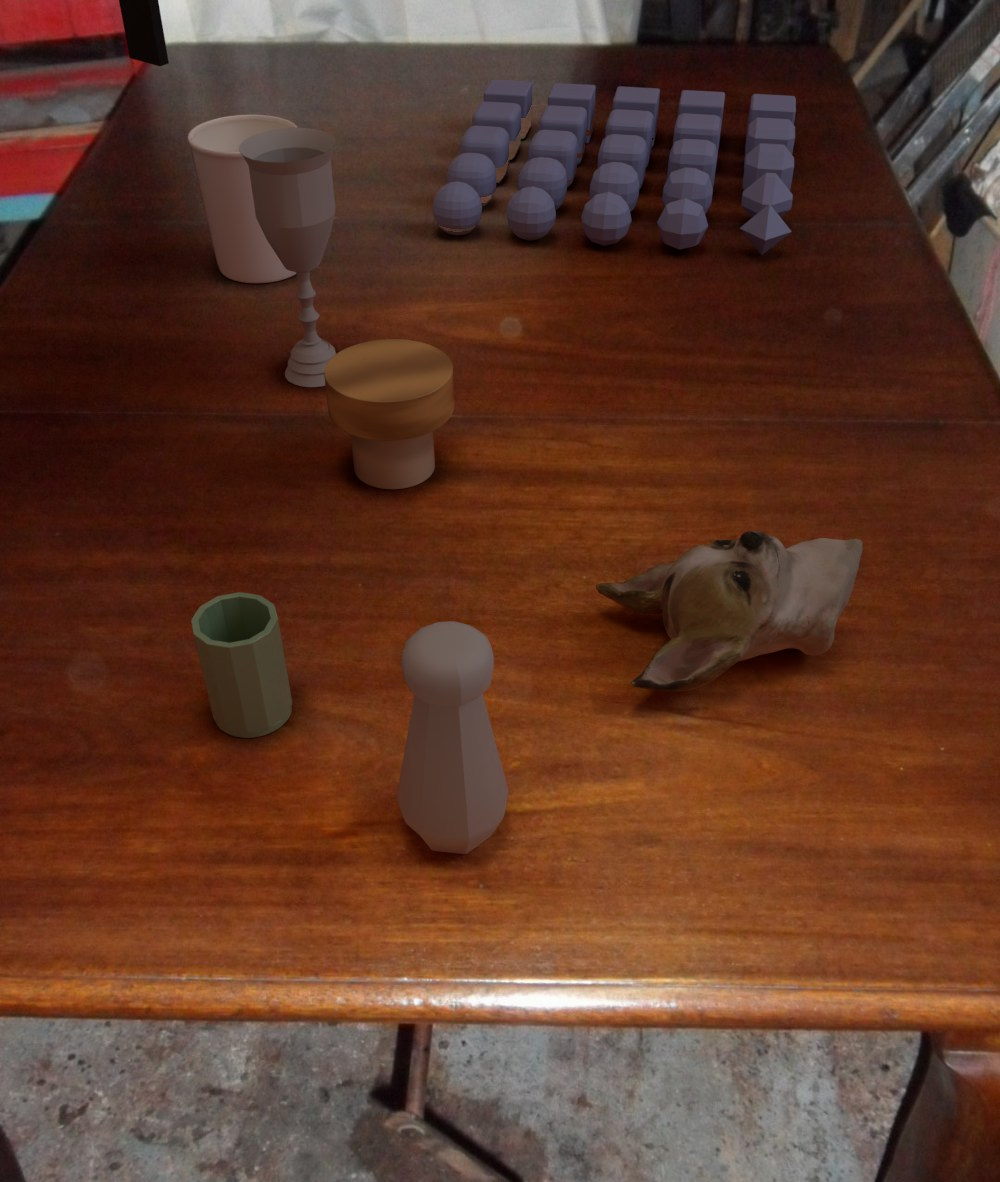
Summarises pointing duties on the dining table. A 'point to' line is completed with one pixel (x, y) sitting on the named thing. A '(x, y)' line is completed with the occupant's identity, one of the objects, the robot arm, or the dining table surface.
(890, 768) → the dining table surface
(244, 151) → the chalice
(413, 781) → the salt shaker
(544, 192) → the blocks
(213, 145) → the white tapered vessel
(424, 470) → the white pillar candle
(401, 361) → the wooden disc
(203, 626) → the cup
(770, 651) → the ceramic sculpture
